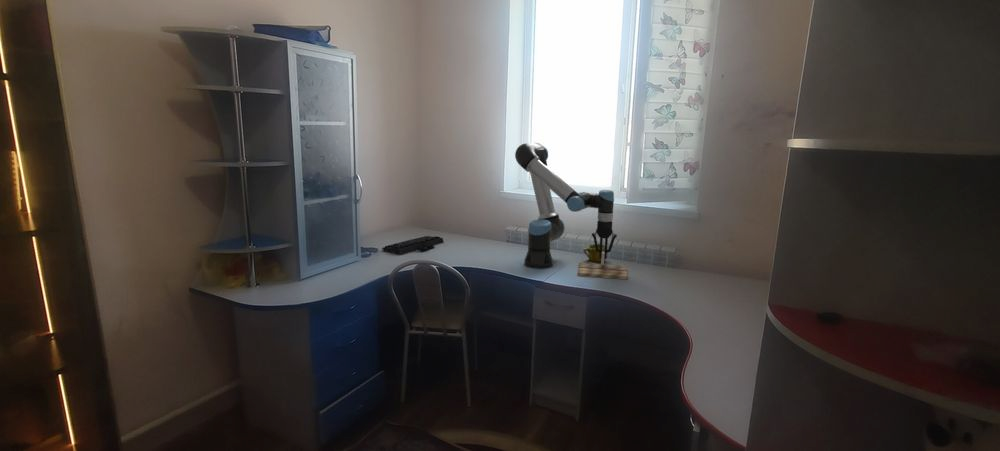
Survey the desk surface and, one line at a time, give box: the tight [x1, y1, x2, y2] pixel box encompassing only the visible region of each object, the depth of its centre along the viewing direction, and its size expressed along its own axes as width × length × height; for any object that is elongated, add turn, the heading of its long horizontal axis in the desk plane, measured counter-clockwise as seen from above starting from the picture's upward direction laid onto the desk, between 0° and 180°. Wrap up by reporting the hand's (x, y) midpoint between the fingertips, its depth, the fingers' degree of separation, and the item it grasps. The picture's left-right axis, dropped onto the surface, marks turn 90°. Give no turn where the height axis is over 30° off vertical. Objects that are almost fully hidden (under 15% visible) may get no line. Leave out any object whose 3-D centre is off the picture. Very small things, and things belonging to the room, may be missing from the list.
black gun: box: [382, 235, 445, 255], centre depth 283 cm, size 37×22×5 cm, turn 145°
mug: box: [582, 243, 606, 263], centre depth 264 cm, size 12×10×10 cm
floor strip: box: [577, 267, 628, 280], centre depth 239 cm, size 24×9×2 cm, turn 79°
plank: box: [577, 262, 627, 272], centre depth 247 cm, size 24×7×2 cm, turn 79°
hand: (602, 264), depth 250 cm, fingers closed
